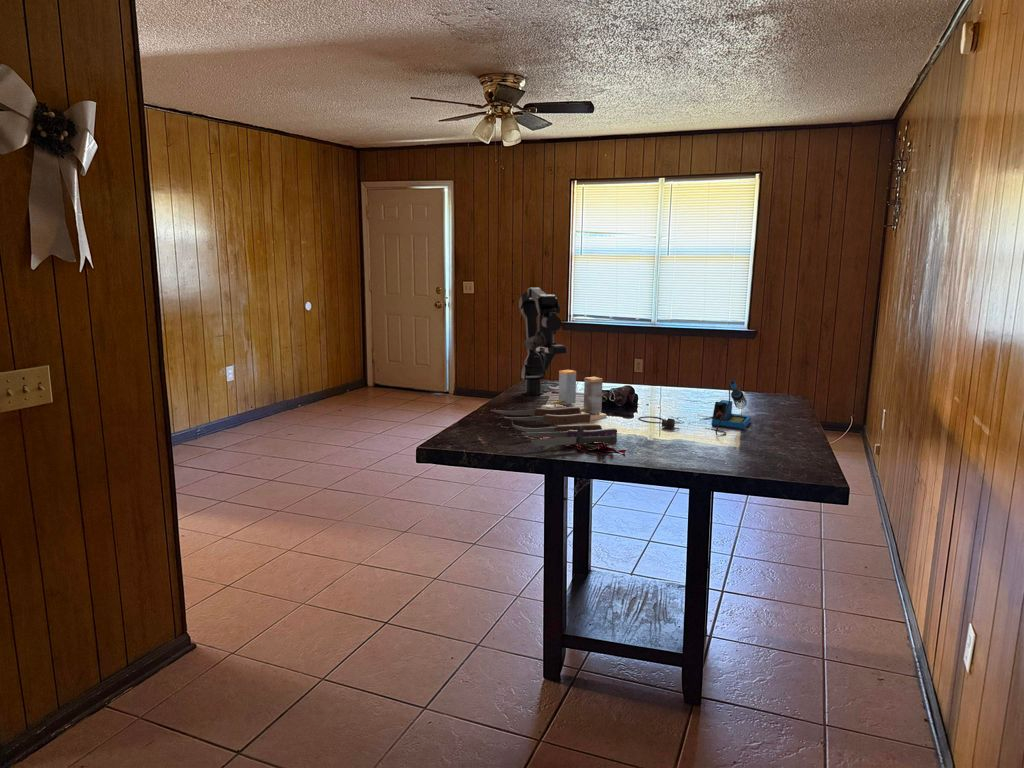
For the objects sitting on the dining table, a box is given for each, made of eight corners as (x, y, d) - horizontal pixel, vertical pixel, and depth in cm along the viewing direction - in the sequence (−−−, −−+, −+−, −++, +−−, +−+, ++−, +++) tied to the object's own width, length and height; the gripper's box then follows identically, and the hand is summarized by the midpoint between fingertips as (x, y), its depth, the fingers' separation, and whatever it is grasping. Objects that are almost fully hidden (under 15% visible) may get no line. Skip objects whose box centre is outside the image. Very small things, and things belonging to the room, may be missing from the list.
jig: (541, 408, 257) (542, 371, 254) (564, 405, 263) (565, 369, 260) (582, 421, 238) (583, 381, 236) (606, 417, 244) (607, 378, 242)
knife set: (488, 423, 230) (489, 400, 229) (579, 421, 241) (581, 399, 240) (524, 455, 198) (526, 429, 196) (627, 451, 209) (630, 426, 207)
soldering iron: (628, 425, 235) (630, 371, 231) (656, 408, 261) (659, 359, 258) (735, 441, 218) (740, 383, 215) (753, 420, 245) (758, 368, 242)
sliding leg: (547, 405, 254) (547, 372, 251) (567, 402, 259) (568, 369, 257) (554, 408, 250) (555, 373, 248) (575, 404, 256) (576, 371, 253)
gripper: (513, 327, 263) (513, 368, 266) (543, 332, 248) (543, 375, 251) (537, 325, 269) (537, 365, 272) (568, 330, 254) (567, 372, 257)
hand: (545, 369), depth 263 cm, fingers closed
